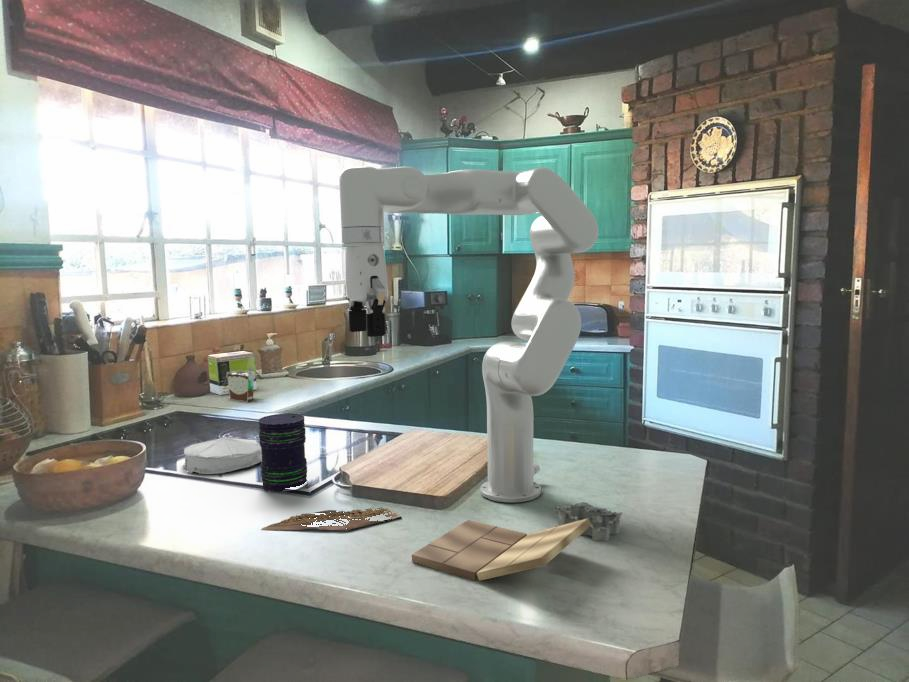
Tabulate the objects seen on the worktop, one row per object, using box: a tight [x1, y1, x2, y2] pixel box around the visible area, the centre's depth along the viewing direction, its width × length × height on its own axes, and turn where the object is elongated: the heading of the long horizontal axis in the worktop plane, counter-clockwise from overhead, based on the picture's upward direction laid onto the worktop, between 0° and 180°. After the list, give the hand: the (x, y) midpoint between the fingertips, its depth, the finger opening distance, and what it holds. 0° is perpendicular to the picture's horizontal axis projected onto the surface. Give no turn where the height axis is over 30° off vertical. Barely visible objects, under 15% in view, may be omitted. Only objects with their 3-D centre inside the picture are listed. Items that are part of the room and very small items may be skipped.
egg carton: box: [555, 501, 624, 541], centre depth 120 cm, size 11×8×4 cm
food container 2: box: [226, 371, 255, 403], centre depth 241 cm, size 12×6×10 cm, turn 58°
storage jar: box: [258, 413, 308, 493], centre depth 146 cm, size 10×10×15 cm
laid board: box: [411, 519, 528, 581], centre depth 111 cm, size 17×12×1 cm
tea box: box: [207, 350, 258, 396], centre depth 257 cm, size 15×10×15 cm, turn 130°
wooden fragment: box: [260, 507, 402, 532], centre depth 125 cm, size 26×11×1 cm, turn 97°
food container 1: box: [182, 436, 262, 475], centre depth 164 cm, size 20×20×7 cm
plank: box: [477, 518, 591, 582], centre depth 104 cm, size 17×12×1 cm
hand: (366, 333), depth 121 cm, fingers open, 9 cm apart
